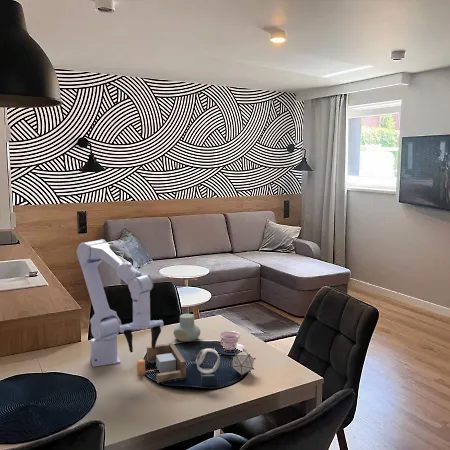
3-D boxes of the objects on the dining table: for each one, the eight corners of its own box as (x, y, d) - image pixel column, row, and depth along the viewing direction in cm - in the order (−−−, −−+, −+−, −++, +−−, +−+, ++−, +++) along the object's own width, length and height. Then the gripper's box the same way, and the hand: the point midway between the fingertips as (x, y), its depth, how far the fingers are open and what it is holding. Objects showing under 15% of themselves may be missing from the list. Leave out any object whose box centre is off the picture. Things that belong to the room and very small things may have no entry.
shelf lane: (157, 383, 153) (157, 365, 153) (147, 362, 169) (146, 346, 168) (185, 378, 157) (185, 361, 156) (172, 358, 173) (172, 342, 172)
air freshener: (170, 339, 191) (170, 315, 190) (182, 333, 198) (182, 310, 196) (191, 345, 185) (191, 321, 184) (203, 339, 192) (203, 315, 191)
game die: (240, 381, 163) (243, 352, 168) (259, 380, 157) (261, 350, 162) (223, 375, 157) (226, 346, 162) (242, 374, 152) (244, 343, 157)
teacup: (229, 341, 189) (229, 327, 188) (252, 350, 181) (252, 334, 180) (208, 350, 181) (208, 334, 180) (230, 359, 172) (230, 343, 172)
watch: (195, 377, 157) (195, 346, 156) (219, 377, 158) (219, 345, 156) (195, 385, 152) (195, 353, 150) (220, 384, 152) (220, 352, 151)
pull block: (139, 377, 157) (138, 365, 156) (135, 370, 162) (135, 358, 162) (176, 372, 161) (175, 359, 161) (171, 365, 167) (171, 353, 166)
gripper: (121, 317, 151) (123, 357, 153) (165, 311, 157) (166, 350, 159) (118, 310, 158) (119, 349, 159) (160, 305, 163) (160, 343, 165)
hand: (142, 349), depth 159 cm, fingers open, 7 cm apart
